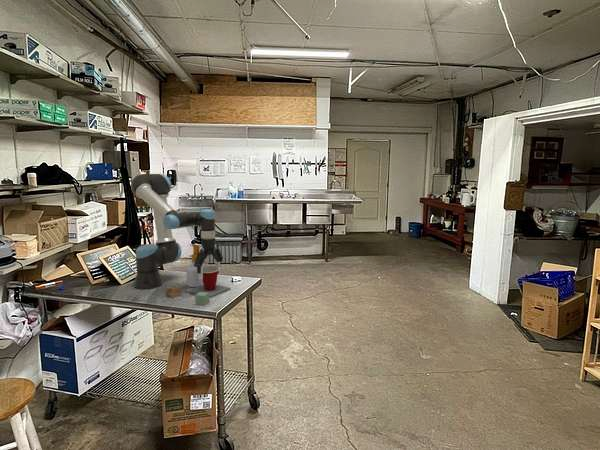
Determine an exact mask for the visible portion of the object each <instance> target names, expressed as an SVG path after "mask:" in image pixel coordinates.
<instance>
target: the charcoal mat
mask: <svg viewBox="0 0 600 450" xmlns="http://www.w3.org/2000/svg"><path fill="white" fill-rule="evenodd" d="M230 290H231V287H229V286H223V285H218V284H216V288H215V290H212V291H207V290H205V289H204V285H202V286H200V287H195V288H193V289H190V290H188V293H189V294H193V295H196V294H198V293H199V292H207V293H209V299H212V298H214V297H216V296H218V295H221V294H223V293H226V292H228V291H230Z"/></svg>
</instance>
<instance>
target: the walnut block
mask: <svg viewBox="0 0 600 450" xmlns="http://www.w3.org/2000/svg"><path fill="white" fill-rule="evenodd" d="M180 296H181V287H180V286H178V285H170V286H167V287H165V297H166V298H170V299H175V298H178V297H180Z"/></svg>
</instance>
